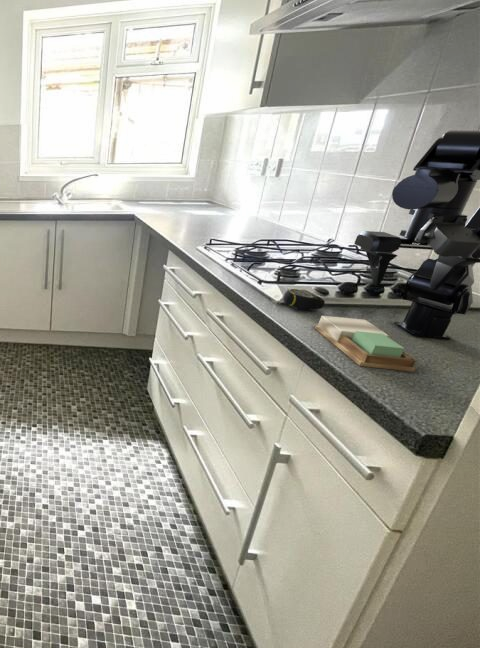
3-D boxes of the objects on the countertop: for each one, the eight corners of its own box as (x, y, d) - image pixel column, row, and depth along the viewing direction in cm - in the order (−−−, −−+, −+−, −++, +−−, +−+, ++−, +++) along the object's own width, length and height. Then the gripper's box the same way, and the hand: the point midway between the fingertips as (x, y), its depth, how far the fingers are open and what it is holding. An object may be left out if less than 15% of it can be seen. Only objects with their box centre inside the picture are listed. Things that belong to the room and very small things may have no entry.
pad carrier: (314, 328, 91) (319, 315, 90) (359, 332, 89) (365, 319, 88) (359, 365, 77) (366, 350, 75) (414, 371, 75) (421, 356, 74)
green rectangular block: (349, 344, 83) (355, 331, 81) (376, 347, 82) (382, 333, 80) (369, 359, 77) (375, 345, 76) (397, 362, 76) (404, 348, 75)
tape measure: (322, 313, 98) (328, 298, 97) (292, 312, 99) (298, 297, 97) (303, 302, 105) (308, 288, 103) (275, 301, 105) (279, 287, 104)
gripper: (410, 211, 69) (373, 298, 75) (552, 217, 65) (501, 308, 71) (368, 201, 79) (338, 278, 85) (489, 205, 75) (449, 286, 81)
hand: (403, 287), depth 81 cm, fingers open, 9 cm apart
